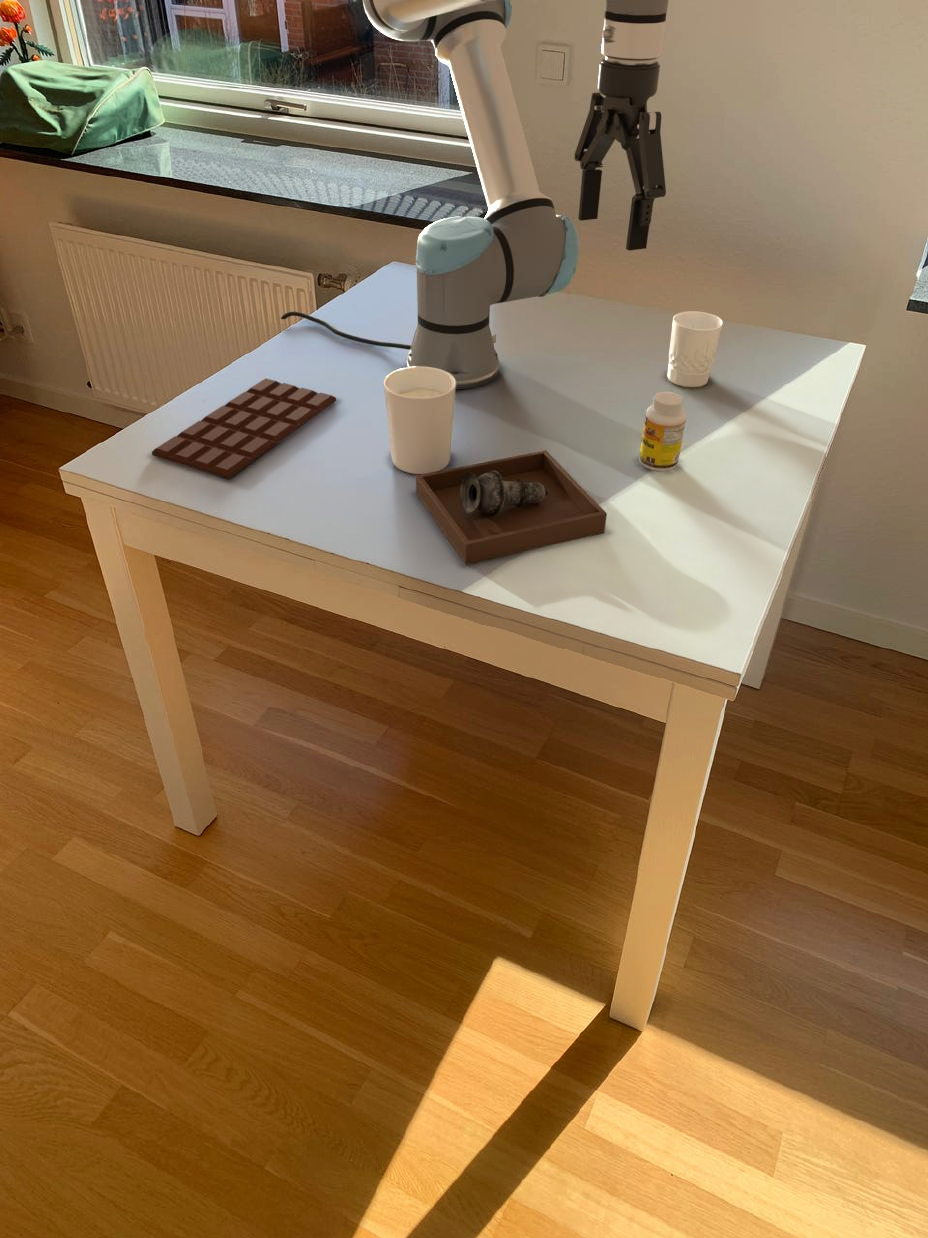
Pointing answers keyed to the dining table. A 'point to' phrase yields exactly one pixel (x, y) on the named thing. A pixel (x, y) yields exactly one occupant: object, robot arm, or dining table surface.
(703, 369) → the white cup
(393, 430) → the candle holder
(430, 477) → the tray
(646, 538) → the dining table surface
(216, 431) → the chocolate bar
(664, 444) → the supplement bottle
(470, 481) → the salt shaker
